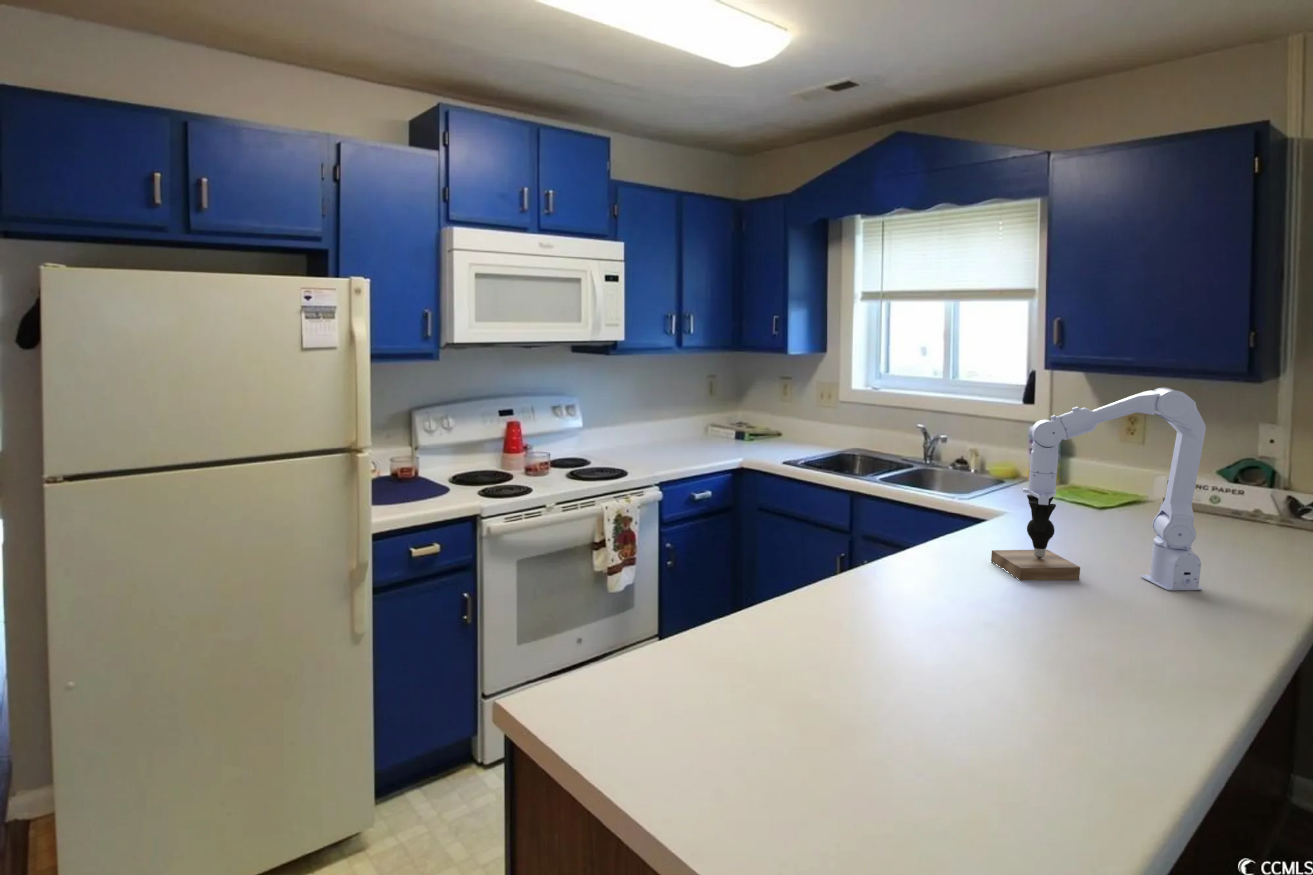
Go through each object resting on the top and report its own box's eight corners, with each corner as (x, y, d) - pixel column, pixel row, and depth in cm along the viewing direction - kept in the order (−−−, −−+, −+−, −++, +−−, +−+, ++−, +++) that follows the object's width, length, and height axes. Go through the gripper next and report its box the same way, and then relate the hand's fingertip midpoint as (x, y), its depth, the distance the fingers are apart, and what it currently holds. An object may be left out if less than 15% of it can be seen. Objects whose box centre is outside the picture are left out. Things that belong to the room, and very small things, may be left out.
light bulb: (1057, 562, 185) (1059, 520, 184) (1031, 562, 186) (1033, 520, 184) (1047, 554, 191) (1048, 513, 189) (1021, 554, 191) (1023, 514, 190)
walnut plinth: (1079, 579, 182) (1080, 567, 182) (1019, 580, 181) (1020, 568, 181) (1046, 561, 196) (1047, 549, 196) (991, 562, 195) (991, 550, 195)
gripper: (1022, 465, 193) (1018, 519, 195) (1025, 475, 180) (1021, 534, 182) (1055, 467, 191) (1050, 522, 193) (1060, 478, 177) (1055, 537, 179)
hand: (1038, 528), depth 187 cm, fingers closed on light bulb, 6 cm apart
